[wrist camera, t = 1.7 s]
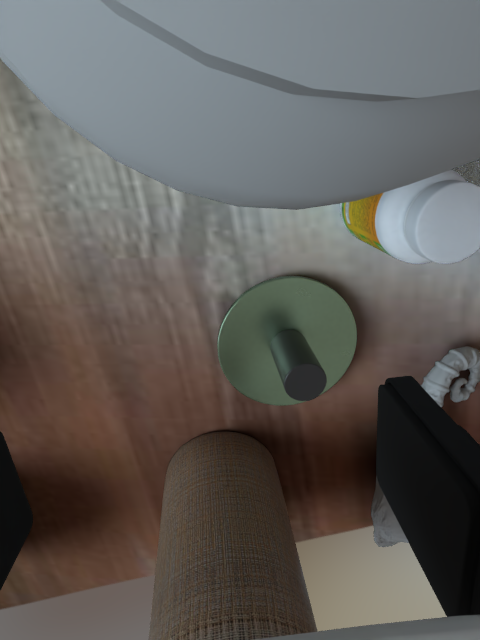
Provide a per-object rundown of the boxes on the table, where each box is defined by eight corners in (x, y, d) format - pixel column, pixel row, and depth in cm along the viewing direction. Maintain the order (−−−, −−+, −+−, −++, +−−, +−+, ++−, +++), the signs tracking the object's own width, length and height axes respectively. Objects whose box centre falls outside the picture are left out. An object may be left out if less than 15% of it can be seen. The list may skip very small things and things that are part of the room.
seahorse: (480, 348, 38) (389, 522, 42) (412, 324, 32) (311, 533, 36) (539, 373, 34) (432, 563, 38) (474, 351, 28) (353, 584, 31)
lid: (192, 366, 32) (191, 415, 26) (262, 247, 29) (279, 272, 23) (304, 416, 35) (326, 471, 29) (379, 313, 32) (421, 350, 26)
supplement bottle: (331, 237, 29) (389, 274, 20) (346, 157, 27) (418, 159, 19) (401, 244, 30) (487, 282, 21) (421, 166, 28) (525, 172, 19)
